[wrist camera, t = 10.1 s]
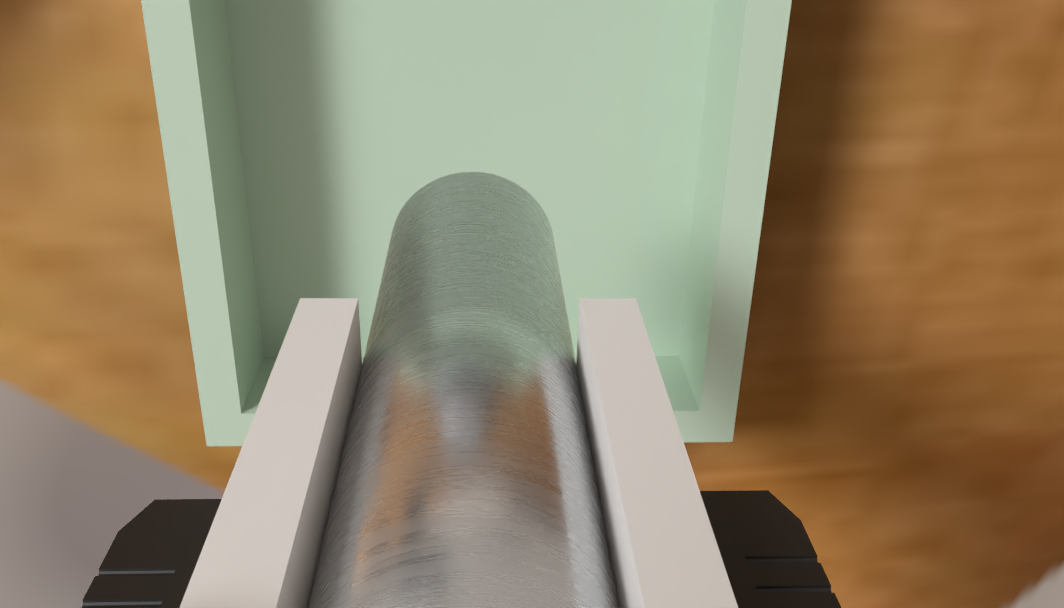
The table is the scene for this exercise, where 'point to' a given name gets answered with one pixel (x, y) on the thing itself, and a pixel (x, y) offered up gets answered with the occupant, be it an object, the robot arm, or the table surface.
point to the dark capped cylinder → (467, 422)
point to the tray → (467, 163)
